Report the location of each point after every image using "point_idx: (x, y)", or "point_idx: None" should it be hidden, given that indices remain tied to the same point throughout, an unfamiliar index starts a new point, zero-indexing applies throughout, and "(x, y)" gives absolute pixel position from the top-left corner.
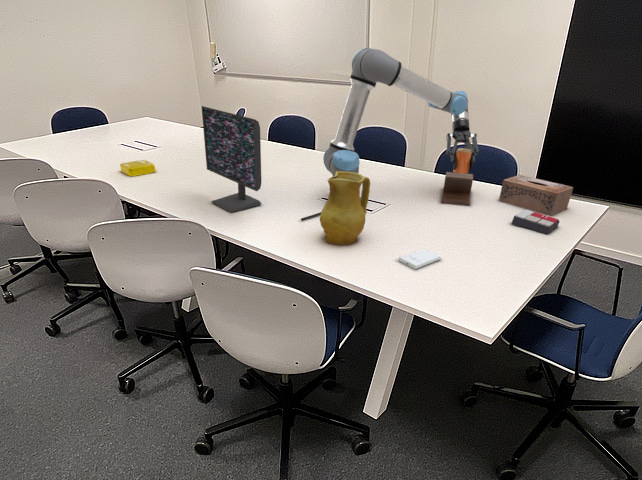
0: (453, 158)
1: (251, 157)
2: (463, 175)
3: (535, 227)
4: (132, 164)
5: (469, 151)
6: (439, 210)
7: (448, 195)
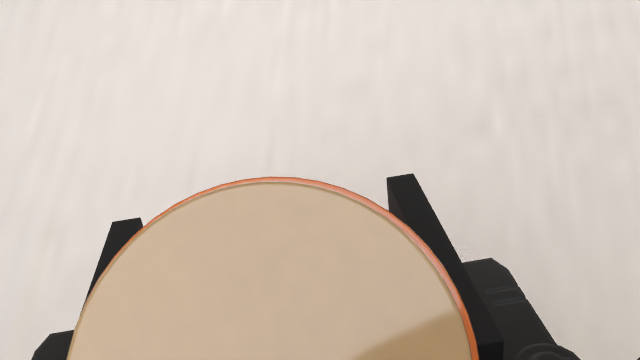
0: (481, 291)
1: None
2: None
3: None
4: None
5: (146, 227)
6: (443, 95)
7: None
